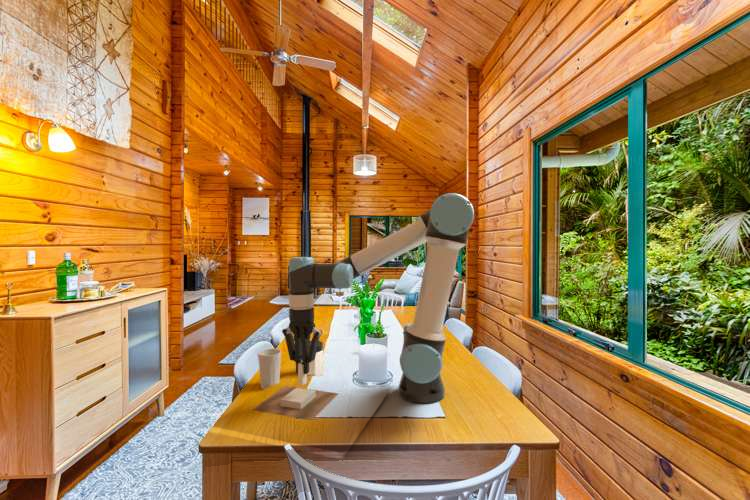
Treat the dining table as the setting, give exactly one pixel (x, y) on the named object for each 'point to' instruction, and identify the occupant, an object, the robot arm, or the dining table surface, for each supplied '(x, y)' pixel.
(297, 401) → the tile
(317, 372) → the jar
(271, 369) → the cup
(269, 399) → the board
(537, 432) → the dining table surface
